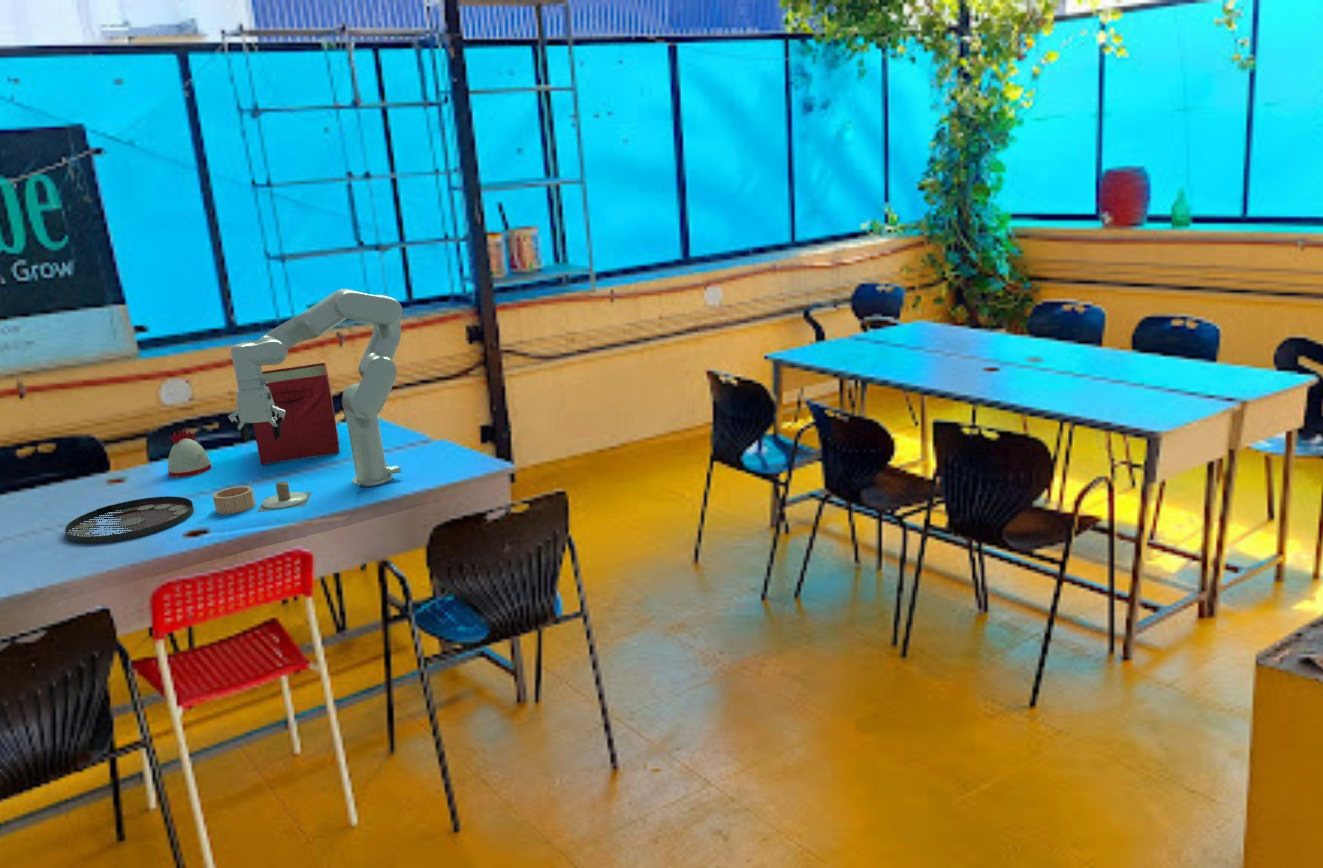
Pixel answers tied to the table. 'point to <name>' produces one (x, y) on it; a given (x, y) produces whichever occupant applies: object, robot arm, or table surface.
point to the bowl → (234, 500)
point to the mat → (286, 507)
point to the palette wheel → (132, 518)
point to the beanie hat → (187, 457)
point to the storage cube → (299, 415)
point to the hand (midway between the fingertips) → (262, 439)
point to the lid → (284, 497)
